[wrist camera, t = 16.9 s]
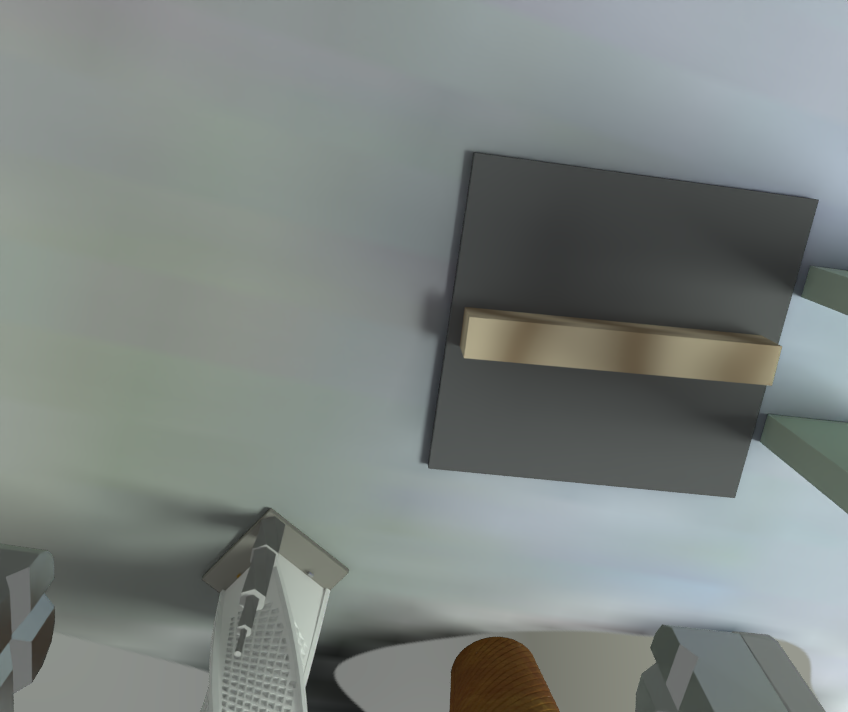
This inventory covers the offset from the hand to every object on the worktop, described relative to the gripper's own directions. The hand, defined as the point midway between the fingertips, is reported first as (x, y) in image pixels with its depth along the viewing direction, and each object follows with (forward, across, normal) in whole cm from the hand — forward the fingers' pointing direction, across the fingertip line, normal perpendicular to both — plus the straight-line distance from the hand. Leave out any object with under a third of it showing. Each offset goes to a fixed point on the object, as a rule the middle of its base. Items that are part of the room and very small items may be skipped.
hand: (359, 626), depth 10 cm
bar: (+35, -15, +6) cm, 38 cm away
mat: (+36, -15, +6) cm, 39 cm away
